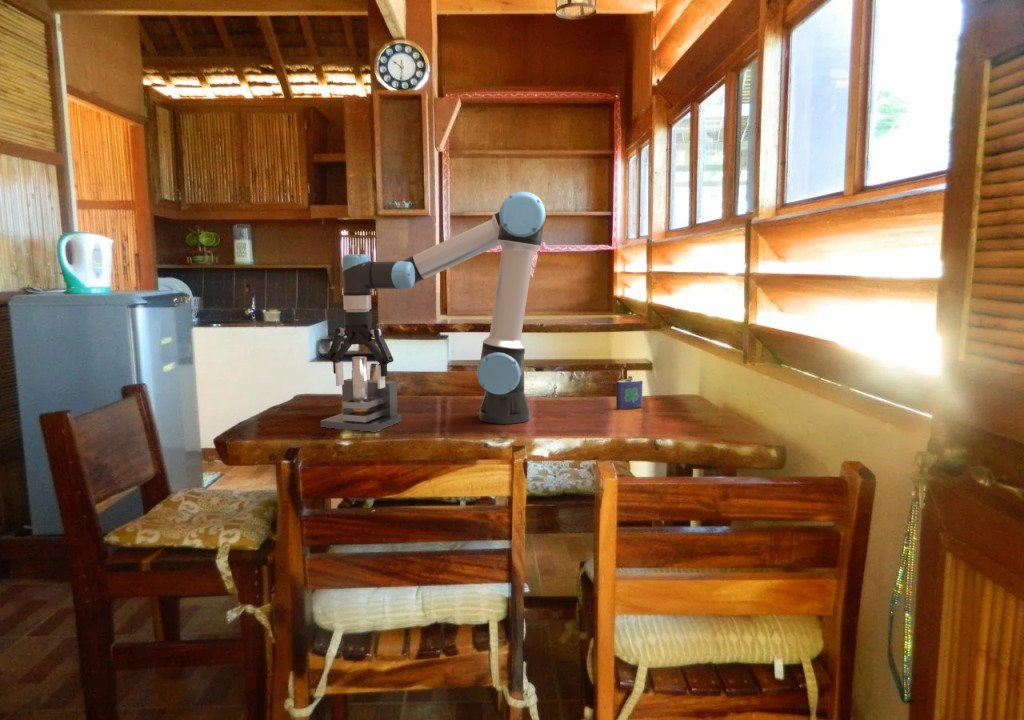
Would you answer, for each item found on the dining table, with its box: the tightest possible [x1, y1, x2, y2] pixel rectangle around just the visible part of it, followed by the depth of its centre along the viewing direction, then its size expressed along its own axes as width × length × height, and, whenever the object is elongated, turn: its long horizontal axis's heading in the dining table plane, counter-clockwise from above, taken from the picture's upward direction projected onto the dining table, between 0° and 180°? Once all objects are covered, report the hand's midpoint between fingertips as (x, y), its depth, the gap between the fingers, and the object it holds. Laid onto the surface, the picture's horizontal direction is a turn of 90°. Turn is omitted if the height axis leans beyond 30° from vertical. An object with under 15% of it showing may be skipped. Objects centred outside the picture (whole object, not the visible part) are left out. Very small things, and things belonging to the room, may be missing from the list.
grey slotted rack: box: [320, 372, 403, 432], centre depth 195 cm, size 18×14×15 cm
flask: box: [615, 374, 644, 411], centre depth 216 cm, size 9×3×11 cm, turn 112°
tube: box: [351, 355, 369, 422], centre depth 192 cm, size 4×4×18 cm
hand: (360, 386), depth 191 cm, fingers open, 13 cm apart
